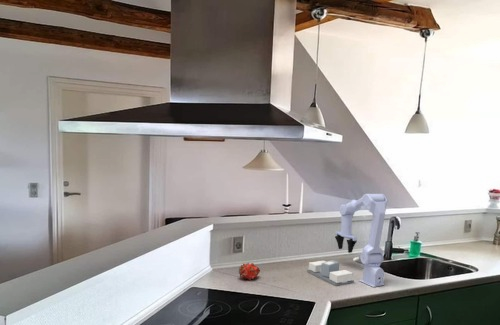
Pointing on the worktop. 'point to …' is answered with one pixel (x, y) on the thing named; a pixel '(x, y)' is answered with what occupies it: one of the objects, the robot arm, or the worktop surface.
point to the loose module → (329, 267)
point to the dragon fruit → (249, 271)
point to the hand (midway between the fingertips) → (345, 250)
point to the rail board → (331, 274)
